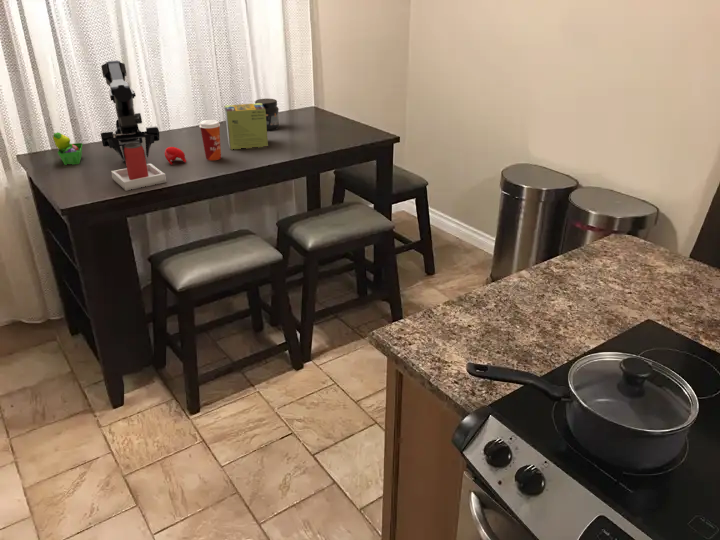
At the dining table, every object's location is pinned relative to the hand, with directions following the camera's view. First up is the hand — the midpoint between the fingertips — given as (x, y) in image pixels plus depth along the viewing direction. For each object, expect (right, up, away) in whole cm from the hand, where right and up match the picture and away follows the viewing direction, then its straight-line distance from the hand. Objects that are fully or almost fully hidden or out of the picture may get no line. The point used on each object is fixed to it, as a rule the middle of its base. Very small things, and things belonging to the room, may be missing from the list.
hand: (135, 158), depth 206 cm
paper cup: (+20, +5, +27) cm, 34 cm away
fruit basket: (-33, +3, +24) cm, 41 cm away
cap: (+7, +2, +23) cm, 24 cm away
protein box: (+30, +13, +43) cm, 54 cm away
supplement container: (+35, +25, +65) cm, 78 cm away
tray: (-1, -7, +5) cm, 9 cm away
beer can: (-1, -6, +5) cm, 8 cm away
